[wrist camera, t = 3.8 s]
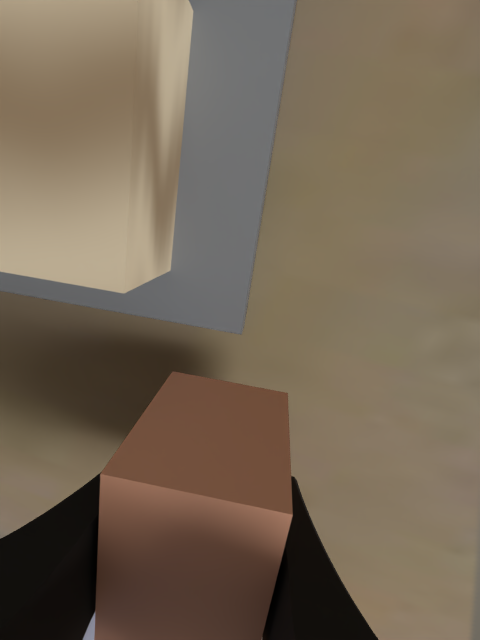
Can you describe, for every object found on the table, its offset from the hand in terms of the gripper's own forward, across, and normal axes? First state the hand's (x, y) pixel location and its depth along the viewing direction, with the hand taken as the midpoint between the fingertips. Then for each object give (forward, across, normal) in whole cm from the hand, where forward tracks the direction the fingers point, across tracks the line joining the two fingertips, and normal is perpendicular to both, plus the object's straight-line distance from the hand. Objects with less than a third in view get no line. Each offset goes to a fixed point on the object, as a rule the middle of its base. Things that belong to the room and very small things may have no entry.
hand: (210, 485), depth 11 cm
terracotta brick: (+2, 0, 0) cm, 2 cm away
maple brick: (+3, +6, -10) cm, 12 cm away
